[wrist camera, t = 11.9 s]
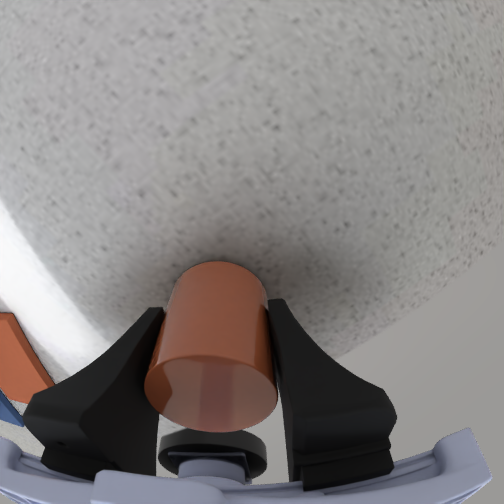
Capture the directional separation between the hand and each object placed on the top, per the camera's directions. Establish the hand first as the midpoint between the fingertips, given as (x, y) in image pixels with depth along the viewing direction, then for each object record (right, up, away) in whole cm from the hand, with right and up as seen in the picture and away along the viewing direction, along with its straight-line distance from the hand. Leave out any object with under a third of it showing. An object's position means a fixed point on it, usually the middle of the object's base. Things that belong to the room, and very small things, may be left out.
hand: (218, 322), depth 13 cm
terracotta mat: (-17, -5, +4) cm, 18 cm away
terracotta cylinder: (0, +1, +1) cm, 1 cm away
